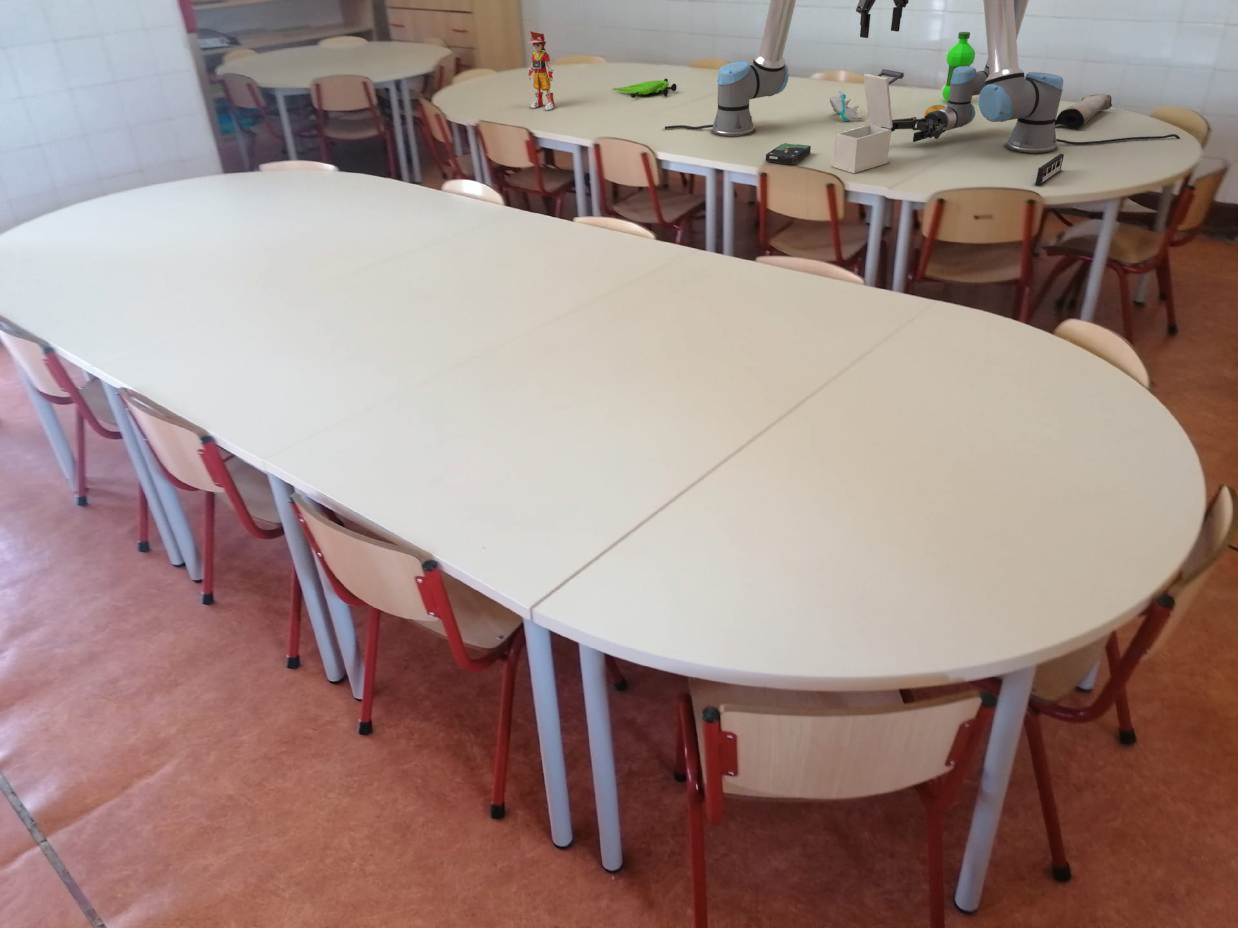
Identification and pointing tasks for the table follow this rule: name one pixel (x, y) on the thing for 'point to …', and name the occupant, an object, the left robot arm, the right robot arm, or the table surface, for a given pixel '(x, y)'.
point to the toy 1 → (541, 71)
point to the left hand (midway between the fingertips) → (879, 34)
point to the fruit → (933, 109)
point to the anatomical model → (844, 107)
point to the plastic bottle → (958, 59)
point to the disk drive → (788, 153)
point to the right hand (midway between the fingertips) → (897, 133)
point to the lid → (880, 97)
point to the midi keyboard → (1049, 169)
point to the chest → (861, 148)
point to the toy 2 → (648, 88)
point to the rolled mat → (1083, 110)
